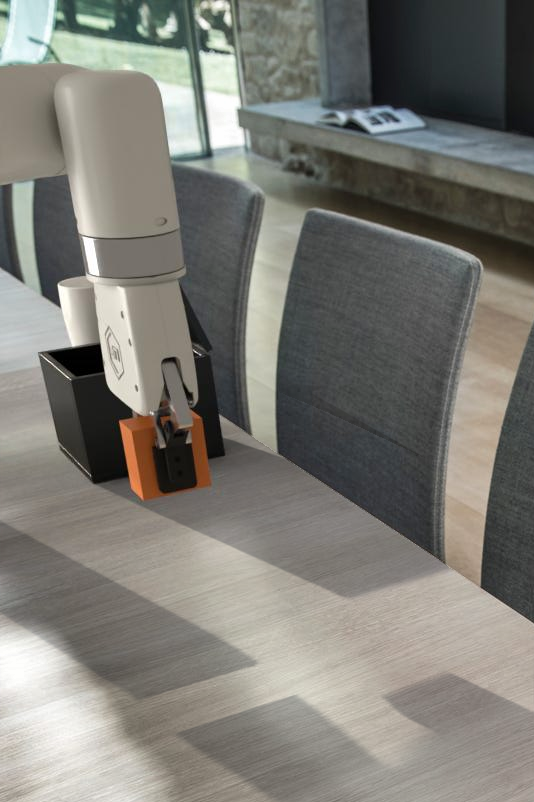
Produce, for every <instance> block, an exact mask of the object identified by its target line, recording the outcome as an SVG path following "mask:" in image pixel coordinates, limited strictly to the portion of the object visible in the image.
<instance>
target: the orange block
mask: <svg viewBox="0 0 534 802" xmlns="http://www.w3.org/2000/svg"><path fill="white" fill-rule="evenodd" d="M190 412H191V415H192V419H193V426H192V427H191V428H190V432H191V437H192V449H193V456H194V463H195V470H196V476H197V486H196V487H194V488H190V489H186V490H181V491H177V492H172V493H167V494H163V493H162V492H161V491H160V490H159V487H158V481H157V475H156V469H155V463H154V457H153V451H152V447H153V446H156V443H155V439H154V434H153V429H152V424H151V419H150V415H149V416H141V417H136V418H130V419H125V420H120V421H119V423H120V428H121V434H122V439H123V444H124V450H125V455H126V461H127V466H128V472H129V476H128V477H129V481H130V483H129V484H130V488H131V490H132V491H133V492H134V493H135V494H136V495H137V496H138V497H139V498H140V499H141V500H142V501H144V502H145V501H149V500H155V499H158V498H164V497H168V496H172V495H177V494H180V493H186V492H191V491H196V490H199V489H204V488H208V487H212V481H211V480H212V479H211V473H210V467H209V459H208V458H207V451H206V444H205V437H204V430H203V423H202V418H201V417H200V416H198V415H197V414H196V413H195V412H193V411H192V410H191V409H190ZM170 417H171V416H165V417H160V418H161V422H162V427H163V425H164V422H165V421H167V420H170Z"/></svg>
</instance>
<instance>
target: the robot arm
mask: <svg viewBox="0 0 534 802" xmlns="http://www.w3.org/2000/svg"><path fill="white" fill-rule="evenodd" d="M172 167H173V166H172V159H171V153H170V146H169V138H168V131H167V124H166V117H165V110H164V103H163V97H162V93H161V90H160V87H159V86H158V83H157V81H156V80H154V78H153V77H151V76H150V75H149V74H147V73H144V72H141V71H137V70H128V69H99V70H97V69H96V70H93V69H89V68H87V67H83V66H80V65H76V64H72V63H65V62H44V63H32V64H23V63H22V64H12V65H11V64H9V65H0V186H4V185H9V184H15V183H20V182H25V181H30V180H34V179H41V178H52V177H58V176H59V177H60V176H63V175H67V178H68V183H69V189H70V195H71V200H72V207H73V212H74V217H75V222H76V227H77V231H78V232H77V233H78V238H79V244H80V249H81V255H82V261H83V266H84V271H85V276H86V277H87V280H89V281H90V282H93V283H94V291H95V303H96V312H97V320H98V327H99V335H100V342H101V349H102V356H103V363H104V370H105V376H106V381H107V385H108V387H109V389H110V390H111V391H112V392H113V393H114V394H115V395H116V396H117V397H118V398H119V399H121V400H122V401H123V402H124V403H125V404H126V405H128V406H129V407H130V408H131V409H132V412H133V418H136V417H141V416H149V415H150V419H151V424H152V429H153V434H154V439H155V443H156V446H153V447H152V451H153V457H154V463H155V469H156V475H157V481H158V487H159V490H160V491H161V492H162V493H163V494H167V493H172V492H177V491H181V490H186V489H190V488H194V487H196V486H197V476H196V470H195V463H194V456H193V449H192V437H191V432H190V428H191V427H192V426H193V419H192V415H191V412H190V409H189V407H190V408H192V407H194V406H195V404H196V403H197V401H198V386H197V377H196V369H195V363H194V356H193V350H192V345H193V344H192V343H191V339H190V334H189V329H188V323H187V318H186V314H185V309H184V304H183V300H182V295H181V291H180V286H179V283H180V282H178V281H179V279H180V278H182V277H184V276H185V275H186V274H187V265H186V259H185V252H184V244H183V239H182V230H181V224H180V218H179V210H178V203H177V196H176V189H175V180H174V175H173V169H172ZM191 344H192V345H191ZM167 402H168V404H167ZM168 405H169V406H168ZM165 416H171V417H170V420H167V421H165V422H164V425H163V427H162V422H161V418H160V417H165Z"/></svg>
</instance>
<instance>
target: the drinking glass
mask: <svg viewBox="0 0 534 802" xmlns="http://www.w3.org/2000/svg"><path fill="white" fill-rule="evenodd" d="M57 290H58V296H59V303H60V308H61V313H62V316H63V320H64V324H65V328H66V332H67V335H68V338H69V341H70V345H71V347H73V346H79V345H86V344H92V343H98V342H100V335H99V327H98V320H97V312H96V303H95V291H94V283H93V282H90V281H89V280H87V277H86V275H83V276H82V275H81V276H75V277H70V278H66V279H63V280H61V281H59V282H58V283H57Z"/></svg>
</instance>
